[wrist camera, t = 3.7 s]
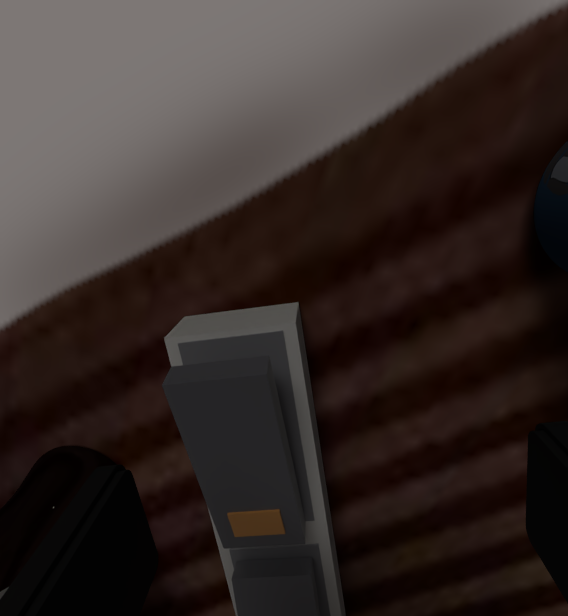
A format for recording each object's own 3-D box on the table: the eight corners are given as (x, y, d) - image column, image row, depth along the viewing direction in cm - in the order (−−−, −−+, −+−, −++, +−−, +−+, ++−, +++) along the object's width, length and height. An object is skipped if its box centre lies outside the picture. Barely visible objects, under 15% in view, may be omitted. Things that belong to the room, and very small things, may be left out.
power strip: (184, 316, 21) (163, 339, 18) (298, 302, 21) (295, 322, 18) (260, 632, 28) (253, 685, 25) (347, 629, 27) (351, 684, 24)
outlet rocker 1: (269, 355, 16) (266, 376, 15) (305, 520, 20) (305, 546, 19) (171, 366, 16) (160, 387, 15) (228, 525, 21) (223, 550, 20)
